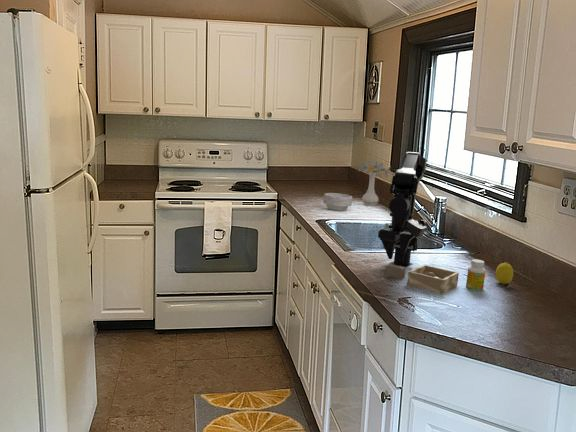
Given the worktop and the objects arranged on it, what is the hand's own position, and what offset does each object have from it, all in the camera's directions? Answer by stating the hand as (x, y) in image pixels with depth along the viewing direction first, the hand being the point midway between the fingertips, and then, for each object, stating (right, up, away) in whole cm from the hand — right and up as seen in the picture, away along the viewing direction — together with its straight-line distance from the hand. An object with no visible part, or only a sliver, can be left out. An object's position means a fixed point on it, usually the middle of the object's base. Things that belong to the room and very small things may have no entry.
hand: (396, 256), depth 197 cm
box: (+11, -9, -5) cm, 15 cm away
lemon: (+36, -10, +2) cm, 37 cm away
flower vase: (+11, +20, +140) cm, 142 cm away
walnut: (+10, -8, -2) cm, 13 cm away
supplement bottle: (+24, -11, -5) cm, 27 cm away
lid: (0, -8, +2) cm, 8 cm away
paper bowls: (-10, +17, +120) cm, 122 cm away
